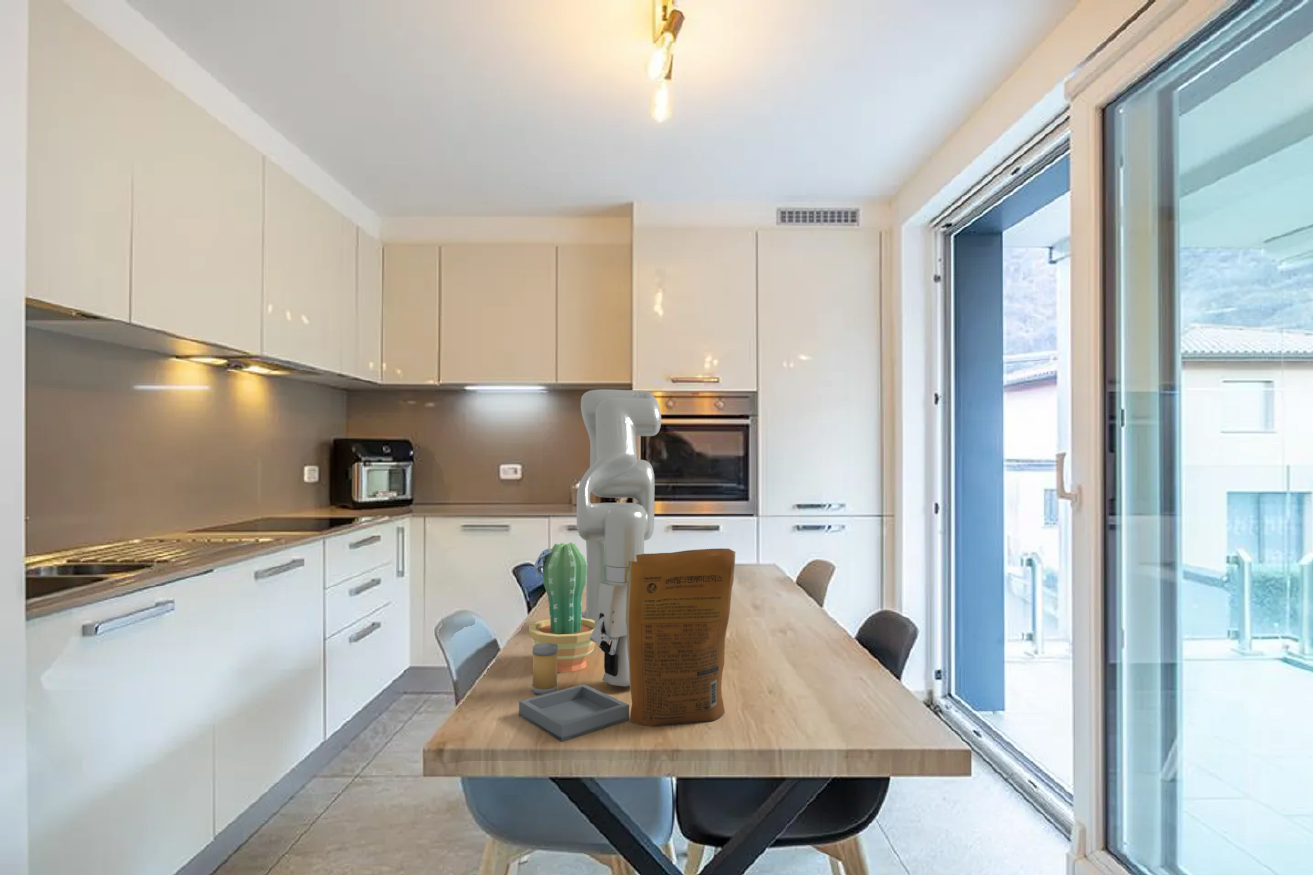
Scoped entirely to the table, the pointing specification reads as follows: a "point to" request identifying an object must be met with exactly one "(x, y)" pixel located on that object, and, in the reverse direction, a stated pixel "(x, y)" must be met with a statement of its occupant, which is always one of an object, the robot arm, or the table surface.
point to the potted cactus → (564, 607)
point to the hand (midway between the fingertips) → (622, 669)
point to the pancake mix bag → (678, 634)
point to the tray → (573, 711)
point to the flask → (620, 665)
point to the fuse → (544, 668)
